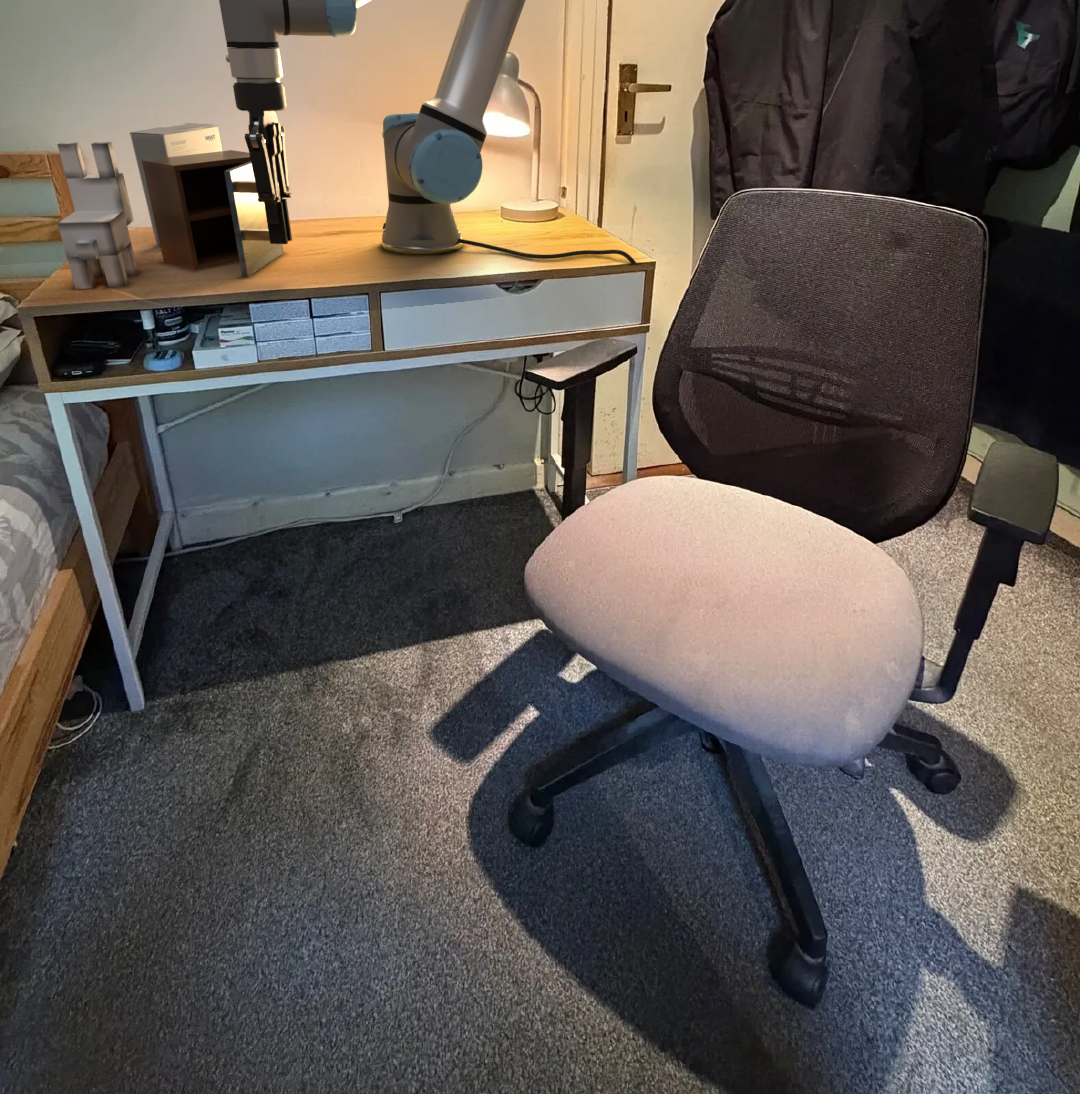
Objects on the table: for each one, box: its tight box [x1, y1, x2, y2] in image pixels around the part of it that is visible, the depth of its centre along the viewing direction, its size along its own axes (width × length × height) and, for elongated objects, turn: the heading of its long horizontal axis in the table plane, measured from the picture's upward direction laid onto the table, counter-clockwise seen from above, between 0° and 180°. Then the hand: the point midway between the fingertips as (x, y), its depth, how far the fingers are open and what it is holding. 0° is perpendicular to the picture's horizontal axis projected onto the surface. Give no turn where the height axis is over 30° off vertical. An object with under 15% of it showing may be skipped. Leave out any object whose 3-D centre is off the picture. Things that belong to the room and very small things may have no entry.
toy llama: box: [57, 141, 139, 290], centre depth 136 cm, size 8×18×20 cm, turn 11°
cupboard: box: [142, 149, 251, 272], centre depth 150 cm, size 10×18×17 cm, turn 143°
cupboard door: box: [224, 161, 285, 278], centre depth 145 cm, size 8×18×16 cm, turn 175°
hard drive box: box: [129, 122, 223, 247], centre depth 161 cm, size 16×8×20 cm, turn 159°
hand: (281, 241), depth 141 cm, fingers closed on cupboard door, 2 cm apart
